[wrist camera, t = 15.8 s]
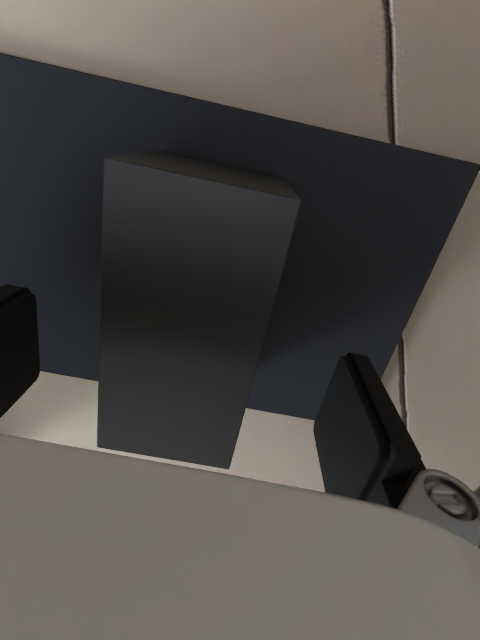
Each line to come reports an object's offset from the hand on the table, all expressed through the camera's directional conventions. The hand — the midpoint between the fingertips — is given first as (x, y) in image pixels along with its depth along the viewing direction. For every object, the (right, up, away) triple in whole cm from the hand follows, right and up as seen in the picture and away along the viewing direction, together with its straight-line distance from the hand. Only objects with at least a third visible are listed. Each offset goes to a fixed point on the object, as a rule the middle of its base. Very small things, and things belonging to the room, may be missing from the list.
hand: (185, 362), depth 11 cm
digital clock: (0, +3, +5) cm, 6 cm away
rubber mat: (0, +3, +6) cm, 7 cm away
